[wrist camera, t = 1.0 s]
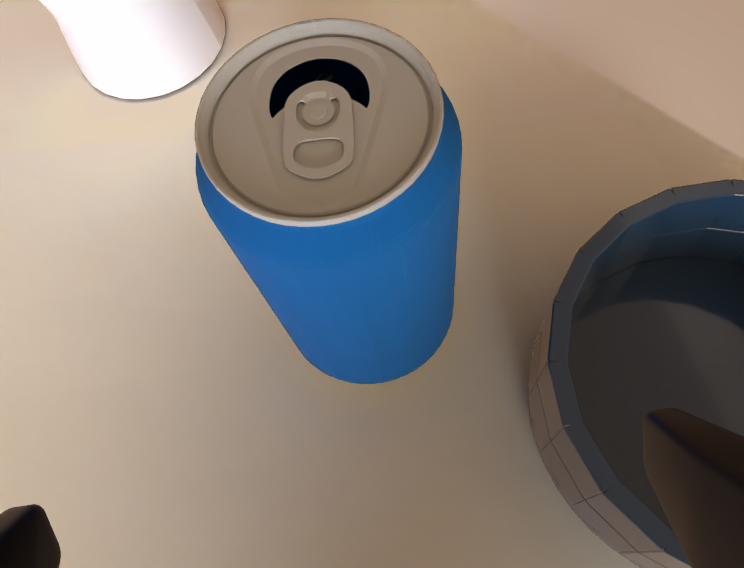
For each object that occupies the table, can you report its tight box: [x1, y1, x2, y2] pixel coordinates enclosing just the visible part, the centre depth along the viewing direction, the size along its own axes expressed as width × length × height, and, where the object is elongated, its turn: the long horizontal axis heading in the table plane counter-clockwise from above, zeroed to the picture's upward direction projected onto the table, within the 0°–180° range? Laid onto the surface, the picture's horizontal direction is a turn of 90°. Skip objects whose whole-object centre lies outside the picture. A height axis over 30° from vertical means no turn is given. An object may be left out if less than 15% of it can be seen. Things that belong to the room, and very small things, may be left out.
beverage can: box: [195, 18, 462, 384], centre depth 19 cm, size 6×6×12 cm
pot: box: [528, 179, 744, 568], centre depth 20 cm, size 12×12×5 cm
